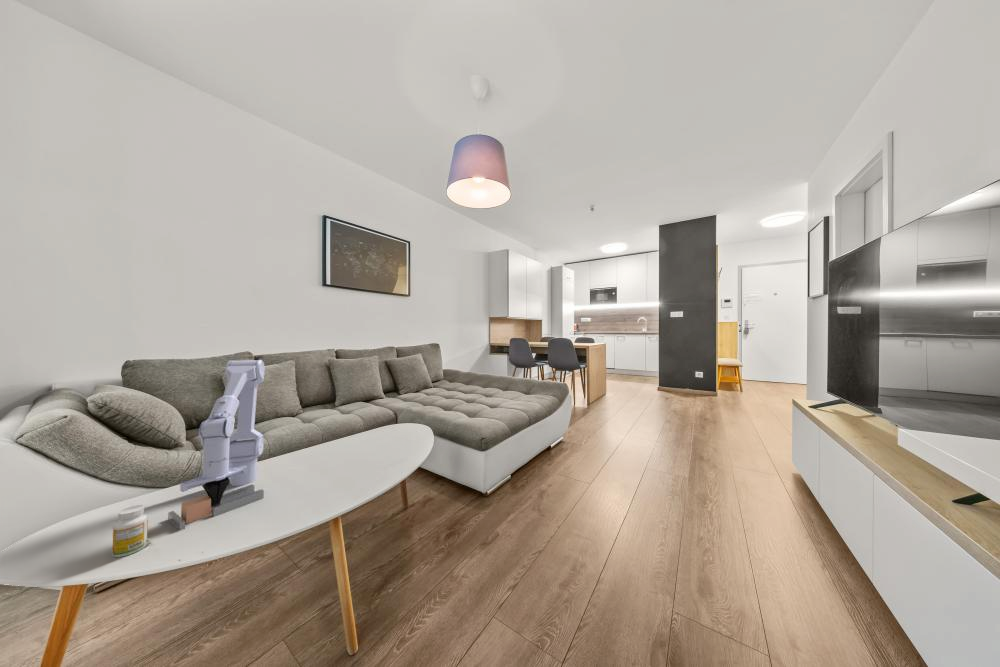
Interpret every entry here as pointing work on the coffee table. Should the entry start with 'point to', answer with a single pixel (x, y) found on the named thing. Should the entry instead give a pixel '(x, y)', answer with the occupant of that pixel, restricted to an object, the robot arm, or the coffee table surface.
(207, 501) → the block
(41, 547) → the coffee table surface
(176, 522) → the chute
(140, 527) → the supplement bottle
